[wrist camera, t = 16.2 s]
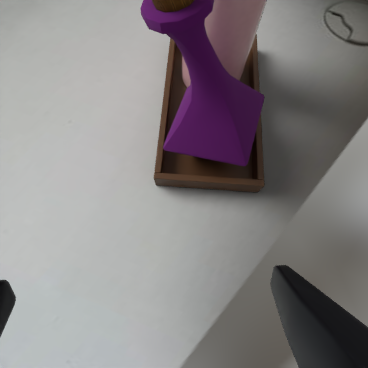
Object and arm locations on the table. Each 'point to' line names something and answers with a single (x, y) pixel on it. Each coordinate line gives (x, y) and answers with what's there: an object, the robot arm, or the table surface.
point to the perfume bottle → (205, 88)
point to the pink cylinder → (231, 33)
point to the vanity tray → (199, 167)
